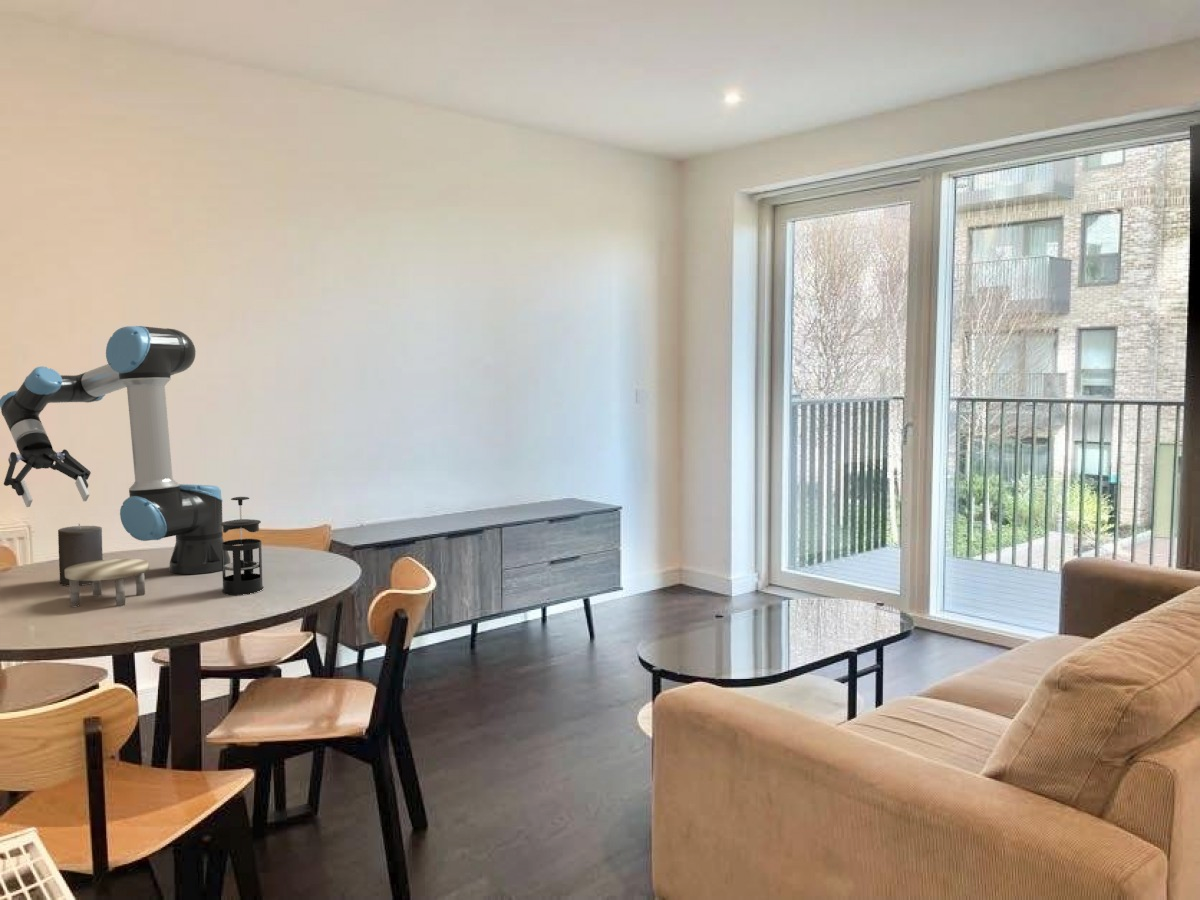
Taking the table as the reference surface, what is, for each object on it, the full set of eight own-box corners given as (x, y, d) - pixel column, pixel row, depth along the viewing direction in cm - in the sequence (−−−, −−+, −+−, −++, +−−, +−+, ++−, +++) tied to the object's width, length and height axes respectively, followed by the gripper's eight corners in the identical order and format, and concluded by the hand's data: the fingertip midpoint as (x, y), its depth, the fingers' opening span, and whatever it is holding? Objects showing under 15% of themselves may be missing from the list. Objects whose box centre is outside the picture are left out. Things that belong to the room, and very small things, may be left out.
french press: (257, 595, 207) (254, 499, 206) (215, 596, 206) (212, 500, 205) (269, 584, 219) (267, 493, 217) (230, 585, 218) (227, 494, 216)
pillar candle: (50, 585, 217) (48, 526, 216) (74, 577, 226) (72, 520, 225) (90, 586, 217) (88, 527, 216) (111, 577, 227) (110, 520, 225)
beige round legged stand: (162, 590, 212) (160, 558, 211) (129, 608, 195) (127, 573, 194) (89, 591, 211) (88, 559, 210) (50, 610, 194) (48, 574, 193)
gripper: (77, 447, 246) (104, 504, 238) (-26, 452, 226) (0, 515, 218) (85, 429, 242) (113, 487, 235) (-19, 432, 222) (8, 496, 215)
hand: (58, 500), depth 226 cm, fingers open, 13 cm apart
